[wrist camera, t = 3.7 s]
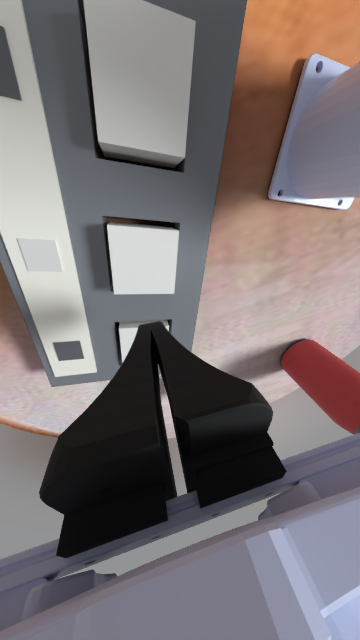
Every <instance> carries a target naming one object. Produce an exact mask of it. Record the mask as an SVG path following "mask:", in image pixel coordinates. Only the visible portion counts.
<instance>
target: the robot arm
mask: <svg viewBox="0 0 360 640" xmlns="http://www.w3.org/2000/svg"><path fill="white" fill-rule="evenodd" d="M316 66H318V71H317V72H316ZM279 190H280V195H279V196H278V192H279ZM268 197H269V199H271V200H278V201H285V202H292V203H299V204H305V205H312V206H319V207H326V208H333V209H340V210H346V209H348V208H349V207H350V205H351V203H352V201H353V199H354V197H360V62H359V63H357V64H356V65H354V66H353V67H351V68H350V67H348V66H345V65H343V64H341V63H338V62H336V61H334V60H331V59H329V58H326V57H324V56H322V55H319V54H317V53H314V54H312V55H311V56H310V57H309V58H307V60H306V61H305V64H304V66H303V70H302V73H301V77H300V80H299V84H298V88H297V91H296V95H295V98H294V102H293V106H292V109H291V113H290V116H289V120H288V123H287V127H286V131H285V134H284V138H283V141H282V145H281V149H280V152H279V156H278V159H277V163H276V167H275V170H274V174H273V177H272V181H271V185H270V188H269V192H268ZM158 365H159V369H160V372H161V376H162V379H163V382H164V386H165V389H166V392H167V396H168V400H169V404H170V409H171V413H172V418H173V423H174V428H175V433H176V438H177V443H178V448H179V453H180V458H181V463H182V468H183V473H184V478H185V483H186V488H187V494H184V495H181V496H179V497H177V492H176V487H175V481H174V475H173V470H172V464H171V458H170V452H169V447H168V441H167V435H166V429H165V423H164V417H163V411H162V405H161V397H160V384H159V371H158ZM272 416H273V411H272V408H271V406H270V405H269V404H268V402H267V401H266V399H265V398H264V397H263V396H262V394H261V393H260V392H259V391H258V390H257V389H256V388H255V386H254V385H253V384H252V383H249V382H247V381H244V380H241V379H239V378H236V377H234V376H231V375H229V374H227V373H225V372H223V371H221V370H219V369H217V368H215V367H213V366H211V365H210V364H208V363H206V362H204V361H203V360H201V359H200V358H198V357H197V356H196V355H194V354H193V353H191V352H190V351H189V350H188V349H186V348H185V347H184V346H183V345H182V344H181V343H180V342H179V341H177V340H176V339H175V337H174V336H173V335H172V334H171V333H170V332H169V331H168V330H167V329H166V327H165V326H164V324H163V323H162V322H161V321H158V322H153V323H147V324H142V325H139V326H138V330H137V333H136V336H135V339H134V341H133V343H132V346H131V348H130V350H129V352H128V354H127V356H126V358H125V359H124V361H123V363H122V365H121V366H120V368H119V369H118V371H117V372H116V374H115V375H114V377H113V378H112V380H111V381H110V382H109V384H108V385H107V386H106V388H105V389H104V390H103V391H102V393H101V394H100V395H99V396H98V397H97V398H96V399H95V400H94V402H93V403H92V404H91V405H90V406H89V407H88V408H87V409H86V410H85V411H84V412H83V413H82V414H81V415H80V416H79V417H78V418H77V419H76V420H75V421H74V422H73V423H72V424H71V425H70V426H69V427H68V428H67V429H66V430H65V431H64V432H63V433H62V434H61V435H59V437H58V440H57V443H56V445H55V447H54V449H53V452H52V455H51V457H50V460H49V464H48V466H47V469H46V473H45V476H44V479H43V482H42V486H41V488H40V491H39V494H40V498H41V499H42V501H43V502H44V503H45V504H46V505H48V506H50V507H51V508H53V509H55V510H57V511H59V512H60V513H62V514H64V520H63V525H62V529H61V534H60V538H59V539H56V540H54V541H51V542H48V543H45V544H42V545H40V546H37V547H34V548H31V549H28V550H25V551H22V552H20V553H17V554H14V555H11V556H8V557H5V558H3V559H0V640H360V433H357V434H354V435H352V436H349V437H346V438H343V439H340V440H337V441H335V442H332V443H329V444H326V445H323V446H321V447H318V448H315V449H312V450H309V451H306V452H304V453H301V454H298V455H295V456H292V457H289V458H286V459H284V460H281V461H280V459H279V457H278V456H277V454H276V452H275V451H274V449H273V447H272V446H273V441H272V440H271V438H270V436H269V435H268V433H267V431H268V428H269V426H270V423H271V421H272ZM281 492H282V493H281ZM278 493H280V494H279V495H277V496H275V497H273V498H271V499H270V500H268V502H267V505H268V506H267V508H266V509H265V510H264V511H263V512H262V513H261V514H260V515H259V517H258V521H255V522H252V523H249V524H247V525H244V526H241V527H238V528H235V529H232V530H229V531H227V532H224V533H222V534H219V535H216V536H213V537H211V538H208V539H206V540H203V541H200V542H198V543H195V544H193V545H190V546H188V547H185V548H183V549H181V550H178V551H175V552H173V553H171V554H168V555H166V556H163V557H161V558H159V559H156V560H154V561H152V562H149V563H147V564H145V565H142V566H140V567H138V568H136V569H133V570H131V571H129V572H127V573H124V574H122V575H120V576H118V577H117V575H116V574H115V573H114V574H98V573H95V571H94V570H89V571H85V572H81V573H78V574H74V575H70V576H67V577H63V578H60V577H62V576H65V575H68V574H70V573H73V572H75V571H78V570H81V569H83V568H86V567H88V566H91V565H94V564H96V563H99V562H101V561H104V560H107V559H109V558H112V557H114V556H117V555H120V554H122V553H125V552H127V551H130V550H133V549H135V548H138V547H140V546H143V545H146V544H148V543H151V542H154V541H156V540H159V539H161V538H164V537H167V536H169V535H172V534H174V533H177V532H180V531H182V530H185V529H187V528H190V527H193V526H195V525H198V524H200V523H203V522H206V521H208V520H211V519H213V518H216V517H219V516H221V515H224V514H226V513H229V512H232V511H234V510H237V509H239V508H242V507H245V506H247V505H250V504H252V503H255V502H258V501H260V500H263V499H265V498H268V497H271V496H273V495H276V494H278ZM57 578H59V579H57Z"/></svg>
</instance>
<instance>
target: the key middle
mask: <svg viewBox="0 0 360 640" xmlns="http://www.w3.org/2000/svg"><path fill="white" fill-rule="evenodd" d="M107 231H108V241H109V250H110V260H111V269H112V279H113V289H114V294H174V291H175V278H176V266H177V253H178V240H179V230H176V229H174V228H172V227H165V226H153V225H142V224H130V223H118V222H110V223H109V224H107Z"/></svg>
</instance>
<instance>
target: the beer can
mask: <svg viewBox="0 0 360 640" xmlns="http://www.w3.org/2000/svg"><path fill="white" fill-rule="evenodd" d="M281 366H282V368H283V369H284V370H285V371H286V372H287V373H288V375H289V376H290V377H291V378H292V379H293V380H294V381H295V382H296V383H297V384H298V385H299V386H300V387H301V388H302V389H303V390H304V391H305V392H306V393H307V394H308V395H309V396H310V397H311V398H312V399H313V400H314V401H315V402H316V403H317V404H318V406H319V407H320V408H321V409H322V410H323V411H324V412H325V413H326V414H327V415H328V416H329V417H330V418H331V419H332V420H333V421H334V422H335V423H337V424H338V425H339V426H341V427H342V428H344V429H345V430H347V431H349V432H350V433H352V434H357V433H360V373H359V372H358V371H356V370H355V369H353V368H352V367H351V366H349V365H348V364H346V363H345V362H344V361H342V360H341V359H339V358H338V357H337V356H335V355H334V354H332V353H331V352H329V351H328V350H327V349H325V348H324V347H322V346H321V345H320V344H318V343H317V342H315V341H313V340H302V341H299V342H297V343H295V344H293V345H292V346H290V347H289V348H288V349H287V350H286V351H285V353H284V354H283V356H282V359H281Z"/></svg>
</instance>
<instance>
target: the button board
mask: <svg viewBox="0 0 360 640" xmlns="http://www.w3.org/2000/svg"><path fill="white" fill-rule="evenodd" d="M144 1H146V2H149V3H151V4H154V5H156V6H159V7H161V8H164V9H167V10H169V11H172V12H174V13H177V14H179V15H182V16H184V17H187V18H189V19H192V20H194V21H196V25H195V37H194V50H193V63H192V75H191V88H190V101H189V113H188V126H187V139H186V152H185V158H184V159H183V160H182V161H181V162H180V163H179V164H178V165H177V166H175V171H170V170H164V169H158V168H152V167H146V166H140V165H134V164H128V163H122V162H116V161H110V160H104V159H101V155H100V146H99V142H98V135H97V125H96V116H95V106H94V96H93V87H92V77H91V67H90V58H89V48H88V39H87V29H86V19H85V10H84V0H0V262H1V264H2V267H3V269H4V272H5V274H6V277H7V279H8V281H9V284H10V286H11V289H12V291H13V294H14V296H15V299H16V301H17V303H18V306H19V308H20V311H21V313H22V316H23V318H24V321H25V323H26V325H27V328H28V330H29V333H30V335H31V338H32V340H33V343H34V345H35V347H36V350H37V352H38V355H39V357H40V360H41V362H42V365H43V367H44V369H45V372H46V374H47V377H48V379H49V382H50V384H51V387H56V386H64V385H72V384H80V383H89V382H97V381H105V380H112V378H113V377H114V375H115V374H116V372H117V371H118V369H119V368H120V366H121V365H122V355H121V347H120V341H119V332H118V322H124V321H146V320H167V321H168V324H169V332H170V333H171V334H172V335H173V336H174V337H175V339H176V340H177V341H179V342H180V343H181V344H182V345H183V346H184V347H185V348H186V349H188V350H189V351H190V352H191V351H192V344H193V338H194V332H195V325H196V319H197V313H198V306H199V300H200V294H201V287H202V281H203V275H204V269H205V262H206V256H207V250H208V243H209V237H210V231H211V224H212V218H213V212H214V205H215V199H216V193H217V187H218V180H219V174H220V168H221V161H222V155H223V149H224V142H225V136H226V130H227V123H228V117H229V111H230V105H231V98H232V92H233V86H234V79H235V73H236V67H237V60H238V54H239V48H240V42H241V35H242V29H243V23H244V16H245V10H246V4H247V0H144ZM107 216H112V217H123V218H133V219H144V220H155V221H166V222H172V226H171V227H172V228H174V229H176V230H179V240H178V253H177V266H176V278H175V291H174V294H114V289H113V279H112V269H111V260H110V250H109V241H108V231H107ZM158 371H159V374H161V372H160V369H159V365H158Z"/></svg>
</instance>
